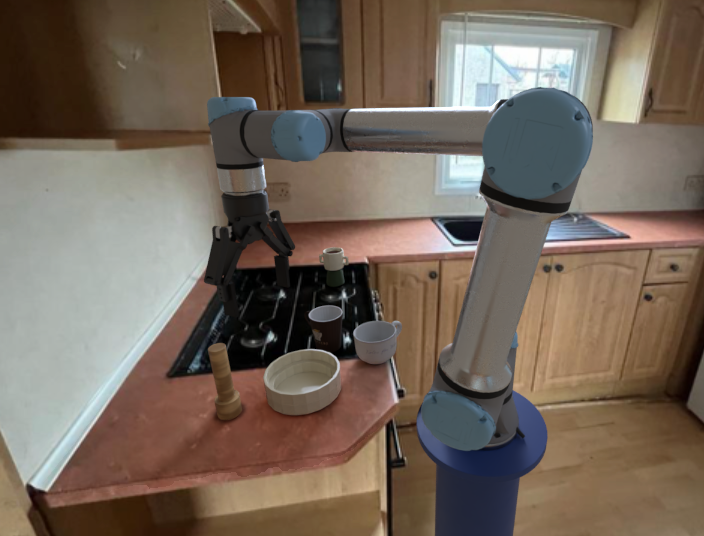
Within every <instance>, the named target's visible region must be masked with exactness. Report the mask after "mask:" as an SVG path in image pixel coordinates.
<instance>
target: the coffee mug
mask: <svg viewBox="0 0 704 536" xmlns="http://www.w3.org/2000/svg"><path fill="white" fill-rule="evenodd" d="M304 319H305V322H306V323H307V324H308V326H309V327H310V328H311V331H312V335H313V339H314V343H315V348H316V349H317V350H323V351H326V352H330V353H331V354H333V353H335V352H337V351H338V350H339V349H340V348H341V346H342V334H343V333H342V328H343V310H342V308H341V307H339V306H336V305H322V306H318V307H316V308H313V309H311V310H307V311H305V312H304Z"/></svg>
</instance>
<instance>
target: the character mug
mask: <svg viewBox="0 0 704 536" xmlns="http://www.w3.org/2000/svg"><path fill="white" fill-rule="evenodd" d="M318 260H319V263H320V264H323V267H324V270H326V286H329V287H331V288H336V287H339V286H342V285H345V277H344V272H343V269H344V267H345V266H349V256H347V255H345V252H344V249H343V248H342V247H337V246H333V247H327V248H325V249H323V250H322V253H320V254H318Z"/></svg>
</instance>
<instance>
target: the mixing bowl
mask: <svg viewBox="0 0 704 536" xmlns="http://www.w3.org/2000/svg"><path fill="white" fill-rule="evenodd" d="M341 372H342V371H341V363H340V361H339V359H338V357H337V356H336V355H334V354H333V353H330V352H326V351H323V350H317V348H316V349H315V348H305V349H299V350H295V351H291V352H288V353H285V354H283V355H281V356H279V357H278V358H276V359H274V360H273V361H272V362H271V363H270V364H269V365H268V366H267V368H266V369H265V370H264V373H263V376H262V380H263V386H264V392H265V397H266V401H267V405H269V407H270V408H271V409H272V410H273V411H275V412H278V413H280V414H282V415H288V416H302V415H309V414H312V413H315V412H318V411H320V410H322V409H324V408H326V407H327V406H329V405H331V404H332V403H333V402H334V401H335V400H336V399H337V398H338V396H339V395H340V392H341V390H342V374H341Z"/></svg>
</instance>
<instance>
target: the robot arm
mask: <svg viewBox="0 0 704 536" xmlns="http://www.w3.org/2000/svg"><path fill="white" fill-rule="evenodd" d="M206 109H207V119H208V122H207V125H208V128H209V131H210V137H211V145H212V149H213V154H214V161H215V165H216V166H215V167H216V172H217V178H218V183H219V184H218V185H219V190H220V191H222V192H223V193H221V196H220V197H221V203H222V210H223V213H224V214H225V217H226V218H227V224H226V225H222V226H220V225H213V226H212V228H211V233H212V242H211V245H210V251H209V256H208V260H207V264H206V269H205V273H204V278H203V282H204V284H207V285H211V286H215V287H216V291H217V297H218V300H219V301H220V302H222V306H223V311H224V315H225V316H229V317H233V318H238V317H240V310H239V305H238V300H237V299H238V298H237V294H236V293H237V292H236V287H235V282H233V281H231V279H232V277H233V275H234V273H235V270H236V267H237V265H238V263H239V260H240V258H241V256H242V253H243V251H244V250H246V249H247V247H248V245H251V244H254V242H258V241H263V242H264V243H265V244H266V245H267V246H268V247H269V248H270V249H271V250H273V251H274V252H275V253H276V255H273V261H274V268H275V276H276V284H277V286H279V287H284V288H287V289H288V288H290V287H291V281H290V271H289V270H290V259H289V257H292V256H293V254H294V252H293V251H294V250H295V249H296V245H295V243H294V241H293V239H292V237H291V235H290V234H289V231H288V230H287V228H286V226H285V225H284V222H283V220H282V216H281V212H280V210H279V209H271V208H270V206H269V198H268V197H269V196H268V192H267V190H265V189H266V188H267V181H266V174H265V166H264V165H265V164H264V159H269V160H280V161H290V162H292V163H298V162H313V161H316V160H317V159H318V158H319V157H320V156H321V155H322V154H327V153H375V154H376V153H377V154H403V155H405V154H407V155H430V156H431V155H433V156H434V155H435V156H460V157H461V156H463V157H482V160H483V165H484V167H483V171H482V176H481V180H480V184H479V187H478V188H479V189H478V193H479V195H480V196H481V198H482V199H483V201H484V203H485V205H486V208H485V212H484V216H483V221H482V224H481V228H480V233H479V236H478V241H477V244H476V248H475V252H474V256H473V260H472V264H471V268H470V272H469V276H468V280H467V284H466V287H465V292H464V296H463V300H462V304H461V307H460V313H459V316H458V320H457V323H456V328H455V332H454V336H453V340H452V342H451V343H449V344H447V345H445V346H444V347H443V348H442V349H441V351H440V353H439V357H438V361H437V365H436V368H435V373H434V377H433V381H432V384H431V387H430V389H429V391H428V392H427V393H426V394H425V395H424V397H423V400H422V403H423V404H422V403H421V404H422V407H421V416H422V420H423V422H424V424H425V426H426V427H427V429H429V430H430V431H431V434H432V435H433V436H434V437H435V438H437V439H438V440H439V441H441V442H442V443H444V444H446V445H448V446H450V447H452V448H455V449H458V450H463V451H470V450H483V451H490V450H497V449H500V448H503V447H505V446H507V445H509V444H510V443H511V442H512V441H513V440H514V439H515V437H516V435H517V433H518V434H519V435H520V436H521V437H522V438H524V437H525V435H524V434H523V433H522V432H521V431H520V429H519V428H518V426H519V419H518V413H517V410H516V406H515V403H514V399H513V396H512V392H513V390H514V383H515V381H514V380H515V371H516V361H517V349H518V348H519V343H518V340H519V339H518V338H519V337H518V331H517V329H518V327H519V323H520V320H521V317H522V315H523V311H524V308H525V305H526V302H527V298H528V295H529V292H530V290H531V286H532V284H533V281H534V277H535V274H536V272H537V271H536V270H537V268H538V265H539V262H540V259H541V256H542V253H543V249H544V247H545V243H546V240H547V237H548V234H549V231H550V228H551V225H552V222H553V221H555V220H558V219H559V218H561V217H563V216H565V215H566V214H568V212H569V211H570V207H571V205H572V201H573V198H574V197H575V192H576V189H577V187H578V183H579V181H580V179H581V175H582V173H583V169H585V167H586V166H587V164H588V161H589V158H590V156H591V152H592V148H593V144H594V126H593V119H592V117H591V114H590V111H589V110H588V108H587V106H586V105H585V103H584V102H583V101H581V100H580V99H579V98H578V97H577V96H575V95H573V94H571V93H569V92H568V91H566V90H562V89H558V88H555V87H543V86H538V87H531V88H528V89H525V90H522V91H519V92H518V93H516V94H514V95H513V96H511V97H510V98H502V99H501V98H500V99H498V100H497V101H495V103H494V104H493V105H491V106H443V107H442V106H439V107H436V106H435V107H433V106H432V107H431V106H430V107H429V106H428V107H381V108H379V107H377V108H375V107H374V108H373V107H371V108H367V107H366V108H340V107H334V108H333V107H332V108H323V109H321V108H320V109H290V110H289V109H287V110H259V109H258V108H257V103H256V99H254V98H253V97H249V96H212V97H210V98H209V99H208V100H207V102H206ZM268 225H269V227H270V228H271V229H270V228H269V227H268Z"/></svg>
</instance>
